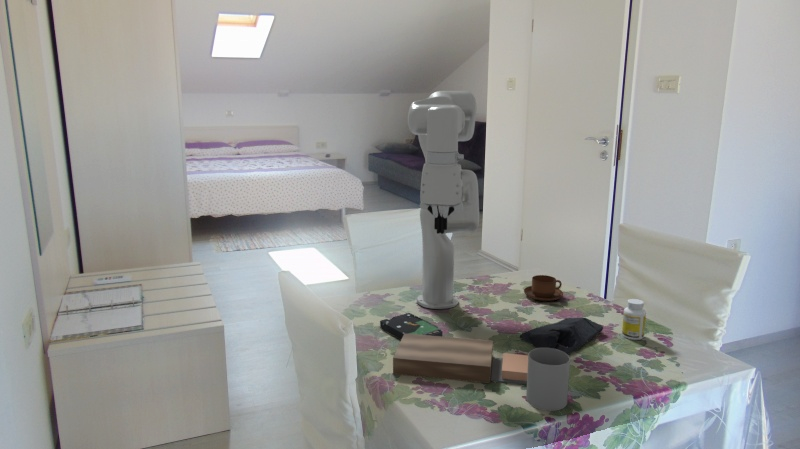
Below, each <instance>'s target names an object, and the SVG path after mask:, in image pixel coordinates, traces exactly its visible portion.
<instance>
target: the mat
mask: <svg viewBox="0 0 800 449" xmlns="http://www.w3.org/2000/svg"><path fill="white" fill-rule="evenodd" d="M502 363H503V358H495V357H494V358H493V357H492V365H491V376H490V382H498V383H507V384H518V385H527V381H521V380H511V379H502Z"/></svg>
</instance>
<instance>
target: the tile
mask: <svg viewBox="0 0 800 449" xmlns="http://www.w3.org/2000/svg"><path fill="white" fill-rule="evenodd" d="M502 359H503V363H502V379H511V380H521V381H527V373H528V355H527V354H519V353H518V354H517V353H507V352H506V353H505V352H504V353H502Z"/></svg>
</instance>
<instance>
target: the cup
mask: <svg viewBox="0 0 800 449" xmlns="http://www.w3.org/2000/svg"><path fill="white" fill-rule="evenodd" d="M570 366H571V358H570V354H569V355H567V354H566V353H565V352H563V351H560V350H558V349H553V348H533V349H531V350H529V352H528V373H527V384H526V398H525V399H526V402H527V404H529V405H530V406H531V407H534V408H536V409H537V410H541V411H546V412H549V411H551V412H552V411H554V412H555V411H560V410H562V409H564V408H565V407H566V406H567V405H568V394H569V393H568V392H569V382H570V381H569V380H570V379H569V378H570Z"/></svg>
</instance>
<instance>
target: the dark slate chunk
mask: <svg viewBox="0 0 800 449" xmlns="http://www.w3.org/2000/svg"><path fill="white" fill-rule="evenodd" d="M603 330H604V326H603V325H601V324H599V323H597V322H595V321H592V320H591V319H589V318H587V317H565V318H564V319H561V320H559V321H558V322H554V323H548V324H544V325H540V326H538V327H535V328H532V329H529V330H526V331H524V332H522V333H521V334H520V335H519V337H520V338H521V339H520V341H522V342H525V343H528V344H530V345H532V347H535V349H537V348H553V349H558V350H560V351H563V352H565V353H566V354H567V355H569V356H570V353H572V352H575V351H577V350H579V349H580V348H582V347H584V346H585V345H586V344H587V342H590V341H591V340H592V339H594V338H595V337H596V336H597V335H598V334H601V332H603Z"/></svg>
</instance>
